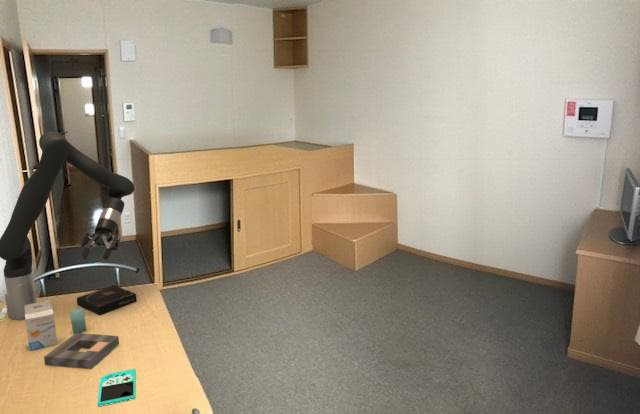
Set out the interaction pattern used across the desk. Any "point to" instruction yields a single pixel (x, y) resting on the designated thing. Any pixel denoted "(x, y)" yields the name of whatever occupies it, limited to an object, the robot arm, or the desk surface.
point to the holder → (72, 357)
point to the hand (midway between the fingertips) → (94, 258)
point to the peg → (78, 320)
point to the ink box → (40, 325)
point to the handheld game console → (117, 387)
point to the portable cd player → (106, 300)
